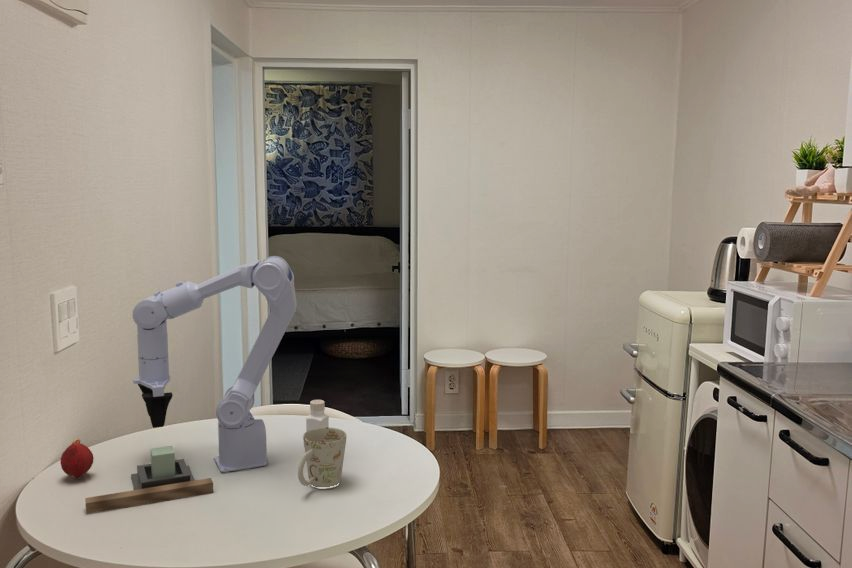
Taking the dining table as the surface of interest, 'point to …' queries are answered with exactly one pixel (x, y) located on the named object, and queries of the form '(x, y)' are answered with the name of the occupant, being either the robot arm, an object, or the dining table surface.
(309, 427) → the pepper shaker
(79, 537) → the dining table surface
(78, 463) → the onion
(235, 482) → the dining table surface
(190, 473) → the keeper
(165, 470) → the stop block
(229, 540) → the dining table surface
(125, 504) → the door edge rail
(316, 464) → the mug
